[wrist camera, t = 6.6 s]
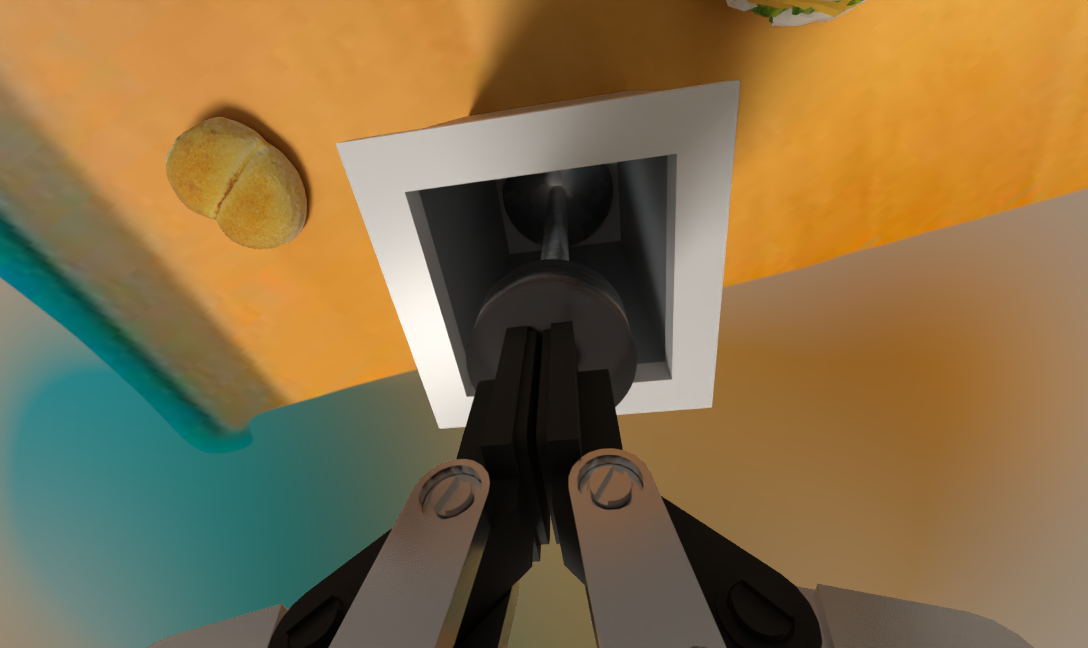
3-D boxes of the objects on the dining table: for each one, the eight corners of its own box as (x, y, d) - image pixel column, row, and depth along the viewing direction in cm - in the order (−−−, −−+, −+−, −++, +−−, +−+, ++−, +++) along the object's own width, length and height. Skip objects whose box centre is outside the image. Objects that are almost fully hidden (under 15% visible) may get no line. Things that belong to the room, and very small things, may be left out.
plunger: (608, 124, 26) (712, 199, 8) (614, 237, 30) (695, 459, 12) (494, 141, 27) (358, 244, 9) (514, 249, 31) (447, 475, 13)
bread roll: (281, 260, 34) (249, 279, 30) (175, 176, 31) (126, 187, 27) (335, 193, 31) (307, 206, 27) (225, 92, 28) (176, 93, 24)
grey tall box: (633, 86, 26) (740, 80, 11) (637, 251, 32) (711, 407, 16) (464, 113, 28) (335, 143, 12) (497, 267, 33) (439, 428, 17)
